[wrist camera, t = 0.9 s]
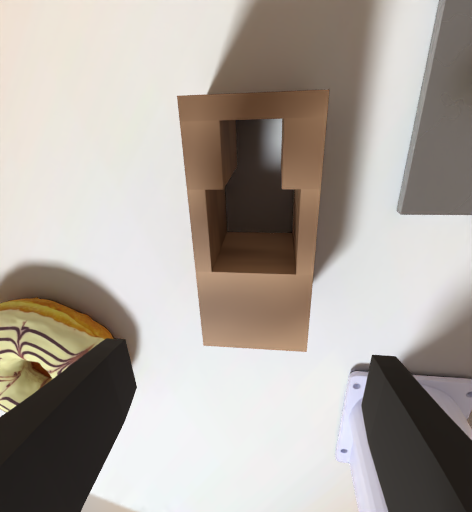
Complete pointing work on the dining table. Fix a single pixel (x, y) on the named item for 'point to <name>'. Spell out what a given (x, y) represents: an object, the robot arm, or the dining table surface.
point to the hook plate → (443, 121)
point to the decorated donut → (40, 345)
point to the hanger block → (253, 243)
